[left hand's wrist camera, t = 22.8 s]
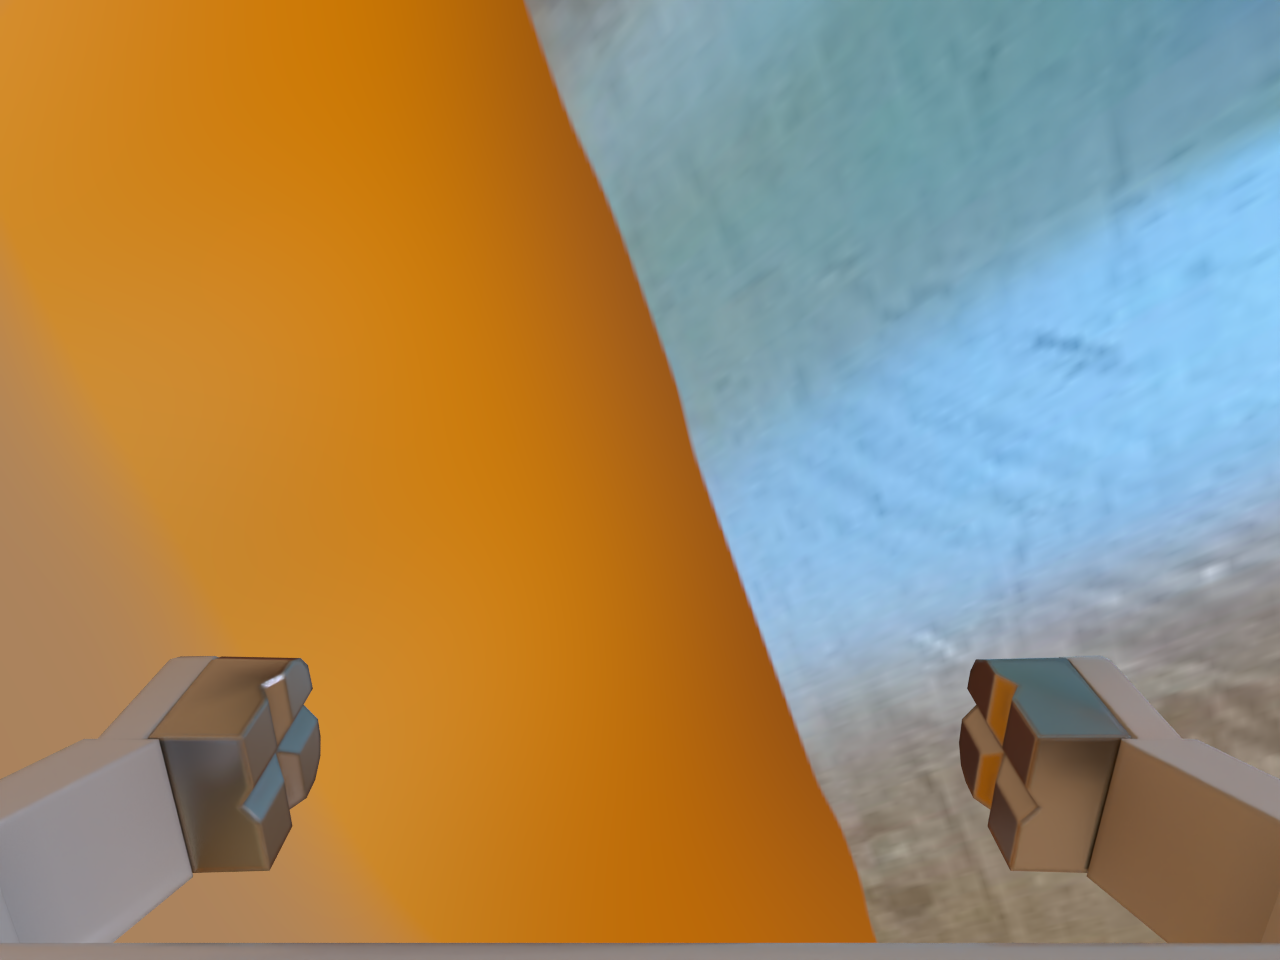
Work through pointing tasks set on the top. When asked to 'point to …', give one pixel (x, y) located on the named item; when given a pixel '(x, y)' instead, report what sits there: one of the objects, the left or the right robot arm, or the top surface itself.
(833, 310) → the top surface
